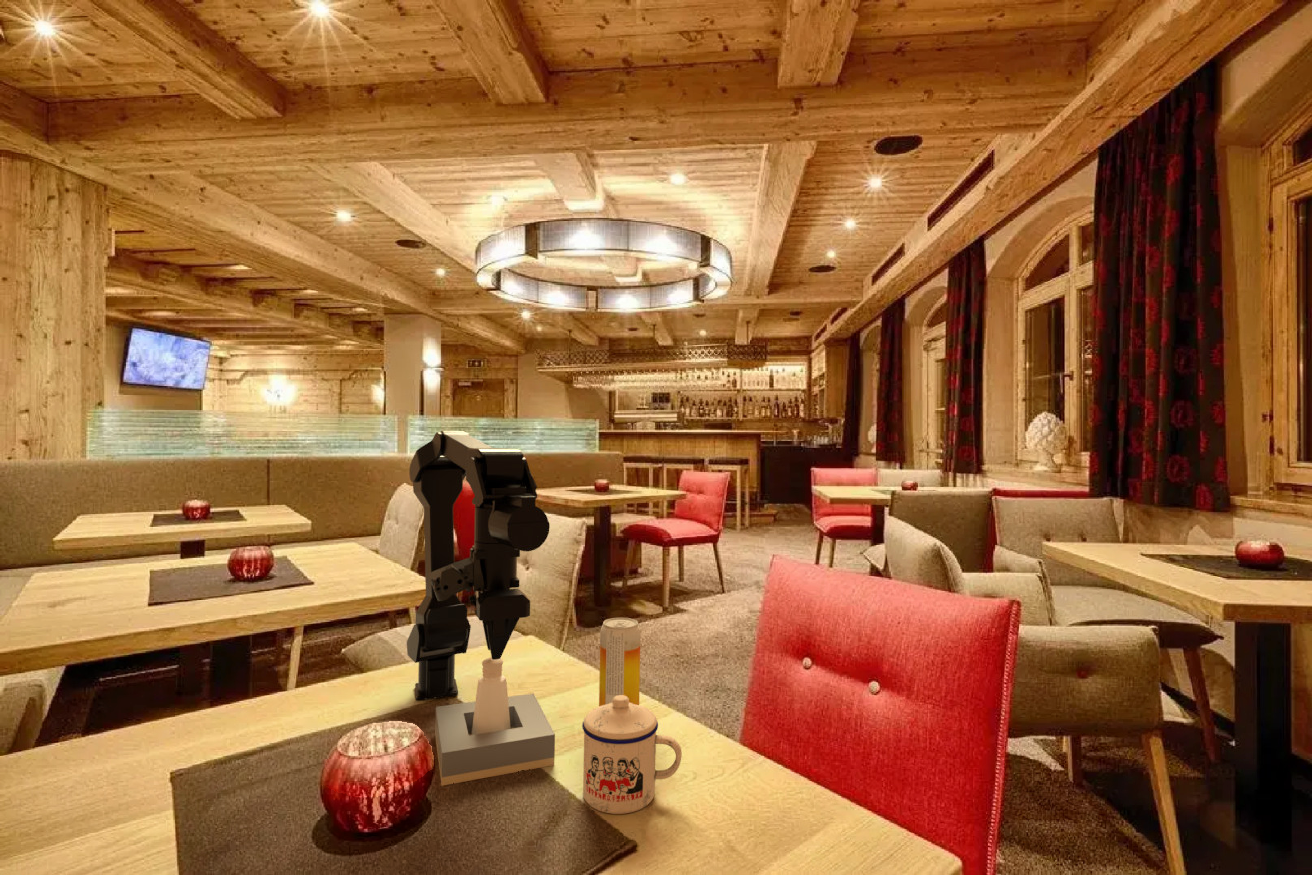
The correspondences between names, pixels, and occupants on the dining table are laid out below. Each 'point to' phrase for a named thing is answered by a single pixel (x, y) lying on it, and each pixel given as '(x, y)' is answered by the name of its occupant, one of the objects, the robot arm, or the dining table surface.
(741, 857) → the dining table surface
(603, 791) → the teacup with lid
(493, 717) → the pepper shaker
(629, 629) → the beer can
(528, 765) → the socket block
